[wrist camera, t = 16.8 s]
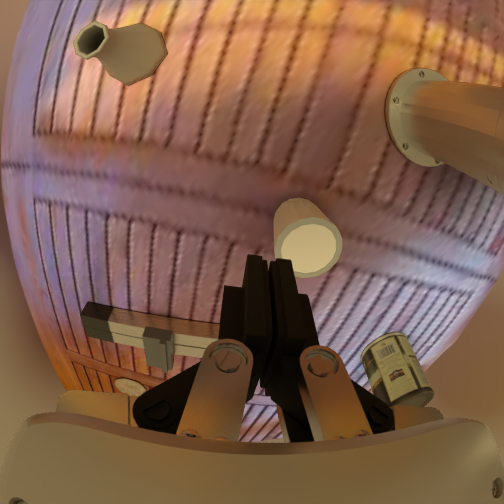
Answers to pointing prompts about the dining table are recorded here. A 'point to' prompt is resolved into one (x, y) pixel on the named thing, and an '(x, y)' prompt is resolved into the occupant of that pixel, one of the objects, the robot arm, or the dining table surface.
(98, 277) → the dining table surface
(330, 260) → the beige tapered cylinder
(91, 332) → the tongs base
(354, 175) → the dining table surface
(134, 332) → the arm
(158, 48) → the flask
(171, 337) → the sleeve
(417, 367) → the coffee can
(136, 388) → the flatbread
